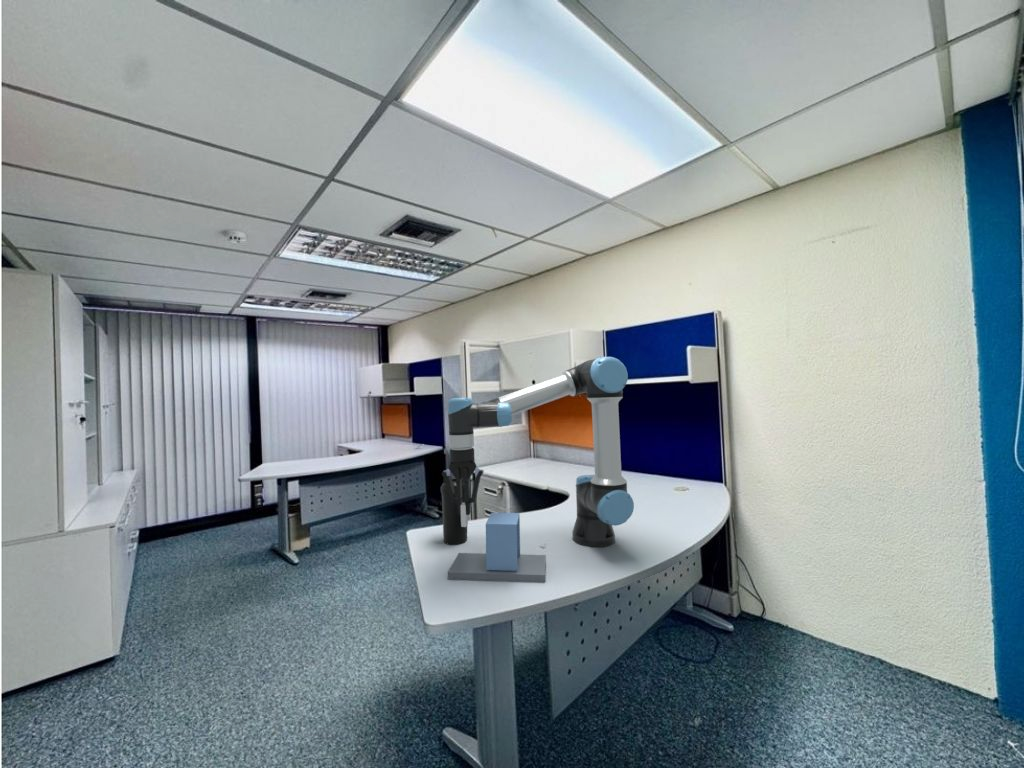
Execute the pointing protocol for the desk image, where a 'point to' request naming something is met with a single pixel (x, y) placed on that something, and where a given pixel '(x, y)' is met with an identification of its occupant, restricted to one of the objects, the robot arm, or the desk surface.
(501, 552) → the housing cover
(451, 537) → the water bottle
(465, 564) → the housing base
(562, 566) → the desk surface
